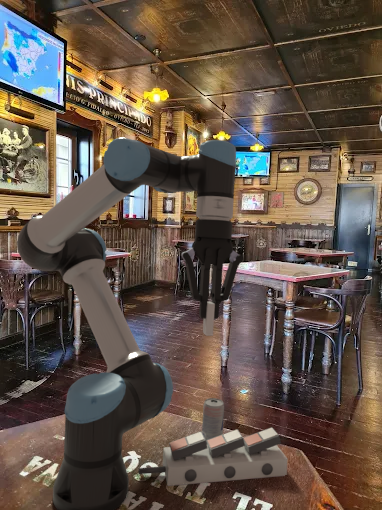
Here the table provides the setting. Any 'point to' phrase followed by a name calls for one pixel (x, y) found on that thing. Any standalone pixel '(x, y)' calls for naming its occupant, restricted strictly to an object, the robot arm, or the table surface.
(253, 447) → the rocker
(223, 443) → the rocker
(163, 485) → the table surface
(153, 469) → the power strip
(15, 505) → the table surface
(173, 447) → the rocker
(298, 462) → the table surface
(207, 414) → the energy drink
